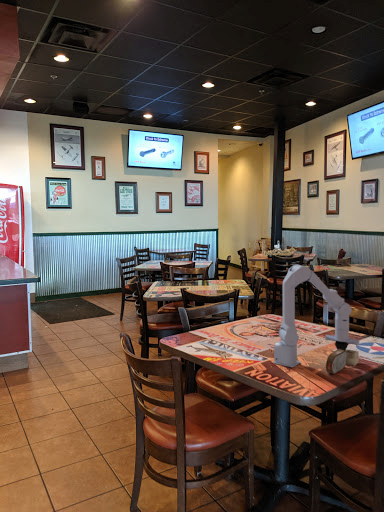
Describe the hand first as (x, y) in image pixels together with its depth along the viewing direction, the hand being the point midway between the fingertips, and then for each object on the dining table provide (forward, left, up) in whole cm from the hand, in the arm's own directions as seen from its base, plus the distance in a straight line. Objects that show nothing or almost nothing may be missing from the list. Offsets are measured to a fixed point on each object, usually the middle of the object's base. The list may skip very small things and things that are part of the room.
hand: (341, 358), depth 174 cm
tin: (+3, -13, -2) cm, 13 cm away
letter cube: (+4, 0, -1) cm, 4 cm away
